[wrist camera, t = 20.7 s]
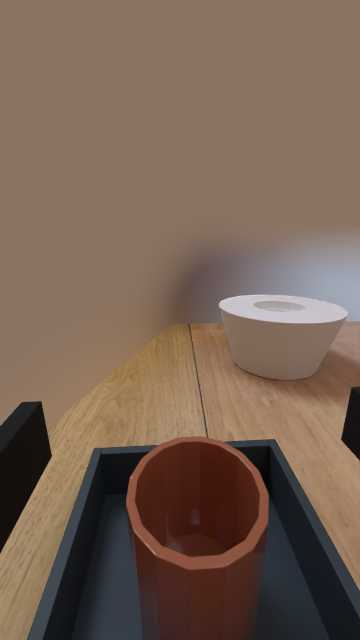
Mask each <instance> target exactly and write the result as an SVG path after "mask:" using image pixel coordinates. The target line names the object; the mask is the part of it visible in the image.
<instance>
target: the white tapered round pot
mask: <svg viewBox="0 0 360 640" xmlns="http://www.w3.org/2000/svg"><path fill="white" fill-rule="evenodd" d="M219 308H220V312H221V316H222V319H223V323H224V327H225V331H226V335H227V338H228V342H229V346H230V350H231V354H232V357H233V360H234V362H235V363H236V365H238V366H239V367H240V368H242V369H243V370H245V371H247V372H249V373H252V374H254V375H258V376H261V377H265V378H270V379H278V380H298V379H304V378H307V377H310V376H312V375H313V374H315V373H316V371H317V370H318V368H319V366H320V364H321V362H322V361H323V359H324V357H325V355H326V353H327V352H328V350H329V348H330V346H331V344H332V342H333V341H334V339H335V337H336V335H337V333H338V332H339V330H340V328H341V326H342V324H343V323H344V321H345V319H346V317H347V315H348V312H347V310H346V309H344V308H343V307H340V306H338V305H336V304H333V303H329V302H325V301H321V300H316V299H311V298H304V297H296V296H285V295H244V296H237V297H231V298H227V299H224V300H222V301H221V302H220V303H219Z"/></svg>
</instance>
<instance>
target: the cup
mask: <svg viewBox="0 0 360 640" xmlns="http://www.w3.org/2000/svg"><path fill="white" fill-rule="evenodd" d="M126 511H127V521H128V531H129V542H130V552H131V562H132V572H133V583H134V593H135V603H136V612H137V616H138V622H139V628H140V634H141V637H142V640H253V639H254V635H255V632H256V625H257V616H258V607H259V599H260V590H261V581H262V573H263V564H264V555H265V547H266V538H267V529H268V515H269V494H268V492H267V489H266V487H265V484H264V482H263V479H262V477H261V475H260V472H259V471H258V469H257V468H256V467H255V466H254V465H253V464H252V463H251V462H250V460H249V459H248V458H247V457H246V456H245V455H244V454H243V453H242V452H240V451H238V450H237V449H235V448H233V447H231V446H230V445H228V444H226V443H224V442H222V441H218V440H214V439H210V438H206V437H180V438H177V439H174V440H171V441H168V442H165V443H162V444H160V445H158V446H157V447H156V448H154V449H153V450H152V451H151V452H149V453H148V454H147V455H145V456H144V457H143V458H142V459H141V461H140V462H139V464H138V466H137V467H136V469H135V470H134V472H133V474H132V475H131V477H130V479H129V485H128V492H127V498H126Z"/></svg>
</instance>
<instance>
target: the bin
mask: <svg viewBox="0 0 360 640" xmlns="http://www.w3.org/2000/svg"><path fill="white" fill-rule="evenodd" d="M224 443H226V444H228V445H230V446H231V447H233V448H235V449H237V450H238V451H240V452H242V453H243V454H244V455H245V456H246V457H247V458H248V459H249V460H250V462H251V463H252V464H253V465H254V466H255V467H256V468H257V469H258V471H259V472H260V475H261V477H262V479H263V482H264V484H265V487H266V489H267V492H268V494H269V515H268V529H267V538H266V547H265V555H264V564H263V573H262V581H261V590H260V599H259V607H258V616H257V625H256V632H255V635H254V639H253V640H360V591H359V589H358V587H357V585H356V583H355V582H354V580H353V578H352V576H351V575H350V573H349V571H348V569H347V567H346V566H345V564H344V562H343V560H342V558H341V557H340V555H339V553H338V551H337V549H336V548H335V546H334V544H333V542H332V540H331V539H330V537H329V535H328V533H327V532H326V530H325V528H324V526H323V524H322V523H321V521H320V519H319V517H318V515H317V514H316V512H315V510H314V508H313V506H312V505H311V503H310V501H309V499H308V497H307V496H306V494H305V492H304V490H303V489H302V487H301V485H300V483H299V481H298V480H297V478H296V476H295V474H294V472H293V471H292V469H291V467H290V465H289V463H288V462H287V460H286V458H285V456H284V454H283V453H282V451H281V449H280V447H279V446H278V444H277V442H276V440H275V439H268V440H249V441H229V442H224ZM157 446H158V445H150V446H130V447H110V448H103V449H102V448H94V450H93V453H92V456H91V459H90V462H89V465H88V467H87V470H86V473H85V476H84V479H83V482H82V485H81V487H80V490H79V493H78V496H77V499H76V502H75V505H74V507H73V510H72V513H71V516H70V519H69V522H68V524H67V527H66V530H65V533H64V536H63V539H62V542H61V544H60V547H59V550H58V553H57V556H56V559H55V561H54V564H53V567H52V570H51V573H50V576H49V579H48V581H47V584H46V587H45V590H44V593H43V596H42V599H41V601H40V604H39V607H38V610H37V613H36V616H35V618H34V621H33V624H32V627H31V630H30V633H29V636H28V638H27V640H142V637H141V634H140V628H139V622H138V616H137V612H136V603H135V593H134V583H133V572H132V562H131V552H130V542H129V531H128V521H127V511H126V498H127V492H128V485H129V479H130V477H131V475H132V474H133V472H134V470H135V469H136V467H137V466H138V464H139V462H140V461H141V459H142V458H143V457H144V456H145V455H147V454H148V453H149V452H151V451H152V450H153V449H154V448H156V447H157Z"/></svg>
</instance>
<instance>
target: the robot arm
mask: <svg viewBox="0 0 360 640" xmlns="http://www.w3.org/2000/svg"><path fill="white" fill-rule="evenodd" d="M341 440H342V441H343V442H344V444H345V445H346V446H347V447H348V448H349V449H350V450H351V451H352V452H353V453H354V455H355V456H356V457H357V458H358V459H359V460H360V387H352V388H351V393H350V398H349V403H348V408H347V413H346V418H345V423H344V428H343V433H342V438H341ZM51 457H52V454H51V449H50V444H49V439H48V433H47V428H46V424H45V418H44V413H43V408H42V403H41V401H39V402H22V403H21V404H20V405H19V406H18V407H17V408H16V409H15V410H14V412H13V413H12V414H11V415H10V416H9V417H8V418H7V419H6V421H5V422H4V423H3V424H2V425H1V426H0V553H1V551H2V549H3V547H4V545H5V543H6V541H7V539H8V538H9V536H10V534H11V532H12V530H13V528H14V526H15V524H16V523H17V521H18V519H19V517H20V515H21V513H22V511H23V509H24V507H25V506H26V504H27V502H28V500H29V498H30V496H31V494H32V492H33V491H34V489H35V487H36V485H37V483H38V481H39V479H40V477H41V475H42V474H43V472H44V470H45V468H46V466H47V464H48V462H49V460H50V459H51Z"/></svg>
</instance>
